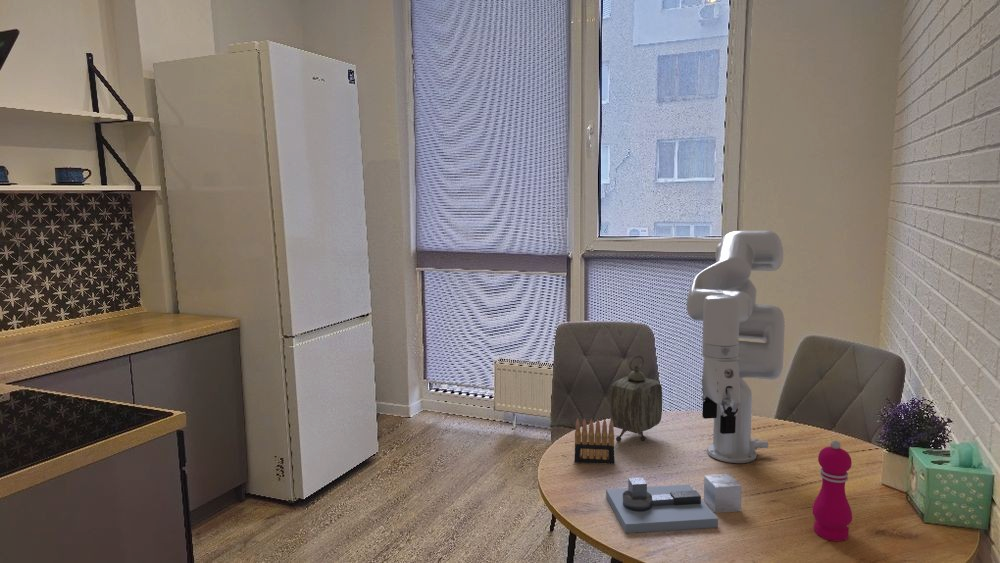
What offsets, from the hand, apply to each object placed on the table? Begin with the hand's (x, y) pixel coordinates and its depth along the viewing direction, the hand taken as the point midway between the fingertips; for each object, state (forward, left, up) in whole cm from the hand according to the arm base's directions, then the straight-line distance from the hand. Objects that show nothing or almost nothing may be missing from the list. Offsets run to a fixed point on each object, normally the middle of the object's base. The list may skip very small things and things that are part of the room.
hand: (718, 425), depth 138 cm
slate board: (+14, +2, -19) cm, 23 cm away
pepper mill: (-18, +15, -19) cm, 30 cm away
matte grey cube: (-1, +1, -19) cm, 19 cm away
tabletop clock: (+6, -40, -19) cm, 45 cm away
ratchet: (+14, +2, -17) cm, 22 cm away
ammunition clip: (+22, -26, -19) cm, 39 cm away
